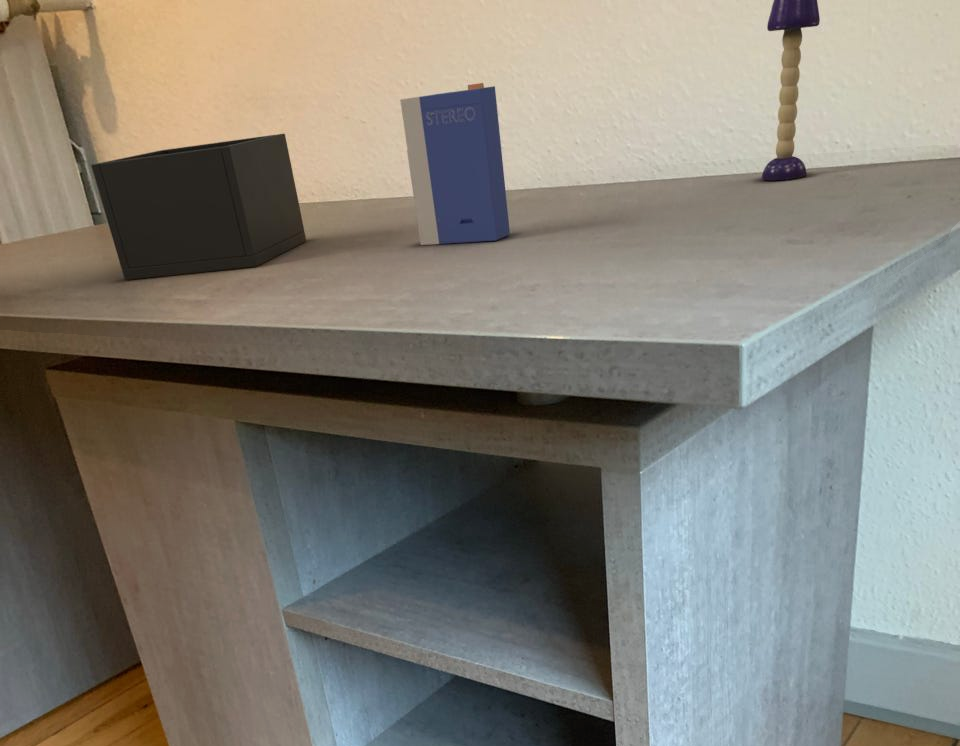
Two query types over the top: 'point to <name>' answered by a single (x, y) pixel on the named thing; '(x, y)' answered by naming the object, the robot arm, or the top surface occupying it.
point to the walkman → (456, 166)
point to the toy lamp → (789, 82)
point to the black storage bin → (201, 207)
